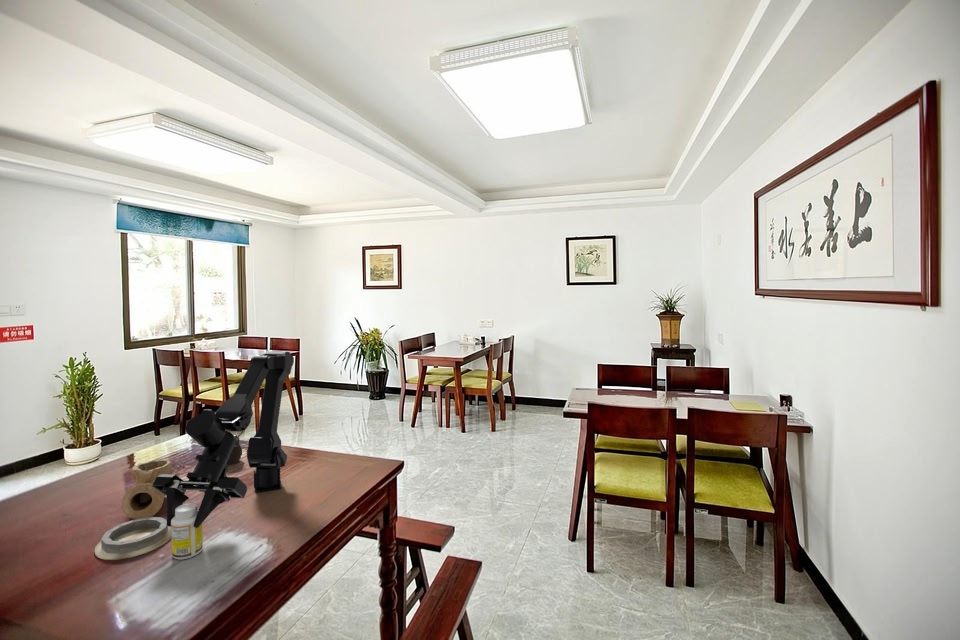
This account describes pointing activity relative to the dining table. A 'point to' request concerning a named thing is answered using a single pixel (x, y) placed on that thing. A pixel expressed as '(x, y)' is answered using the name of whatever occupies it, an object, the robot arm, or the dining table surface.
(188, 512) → the supplement bottle
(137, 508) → the pipe
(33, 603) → the dining table surface
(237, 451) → the mate gourd
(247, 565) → the dining table surface
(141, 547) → the holder ring
